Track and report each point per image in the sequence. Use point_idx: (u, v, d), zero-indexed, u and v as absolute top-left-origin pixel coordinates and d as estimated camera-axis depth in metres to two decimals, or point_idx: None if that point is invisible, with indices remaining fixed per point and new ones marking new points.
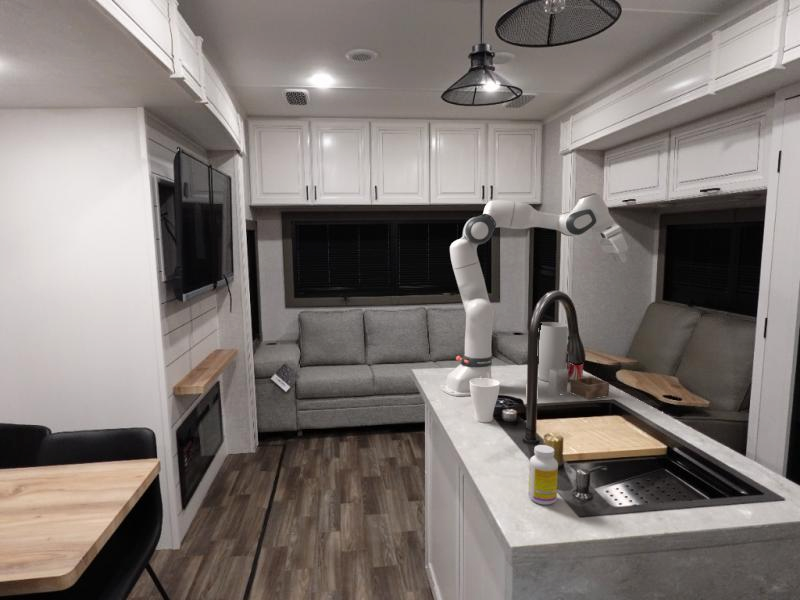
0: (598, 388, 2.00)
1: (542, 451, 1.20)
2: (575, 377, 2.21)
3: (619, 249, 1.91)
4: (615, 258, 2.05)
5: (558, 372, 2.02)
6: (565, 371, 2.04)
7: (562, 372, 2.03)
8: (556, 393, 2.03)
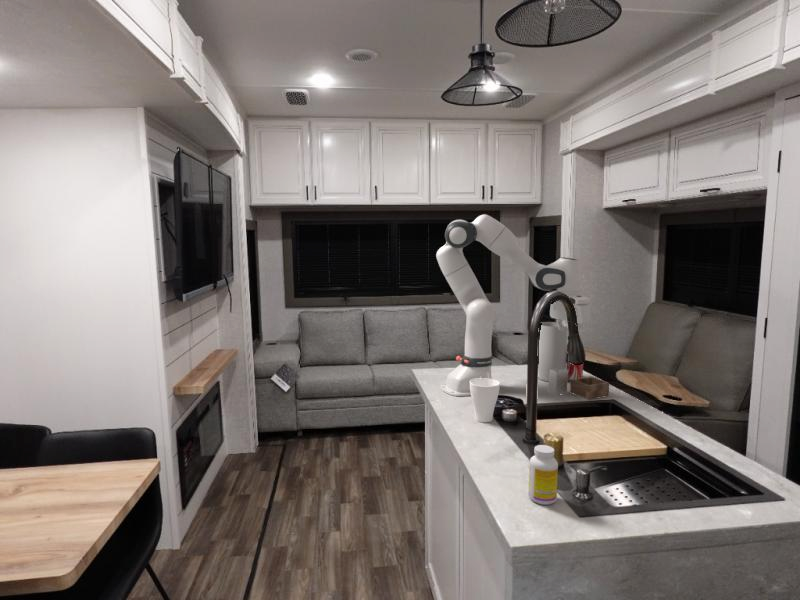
0: (598, 388, 2.00)
1: (542, 451, 1.20)
2: (575, 377, 2.21)
3: (583, 319, 1.92)
4: (562, 327, 2.06)
5: (558, 372, 2.02)
6: (565, 371, 2.04)
7: (562, 372, 2.03)
8: (556, 393, 2.03)
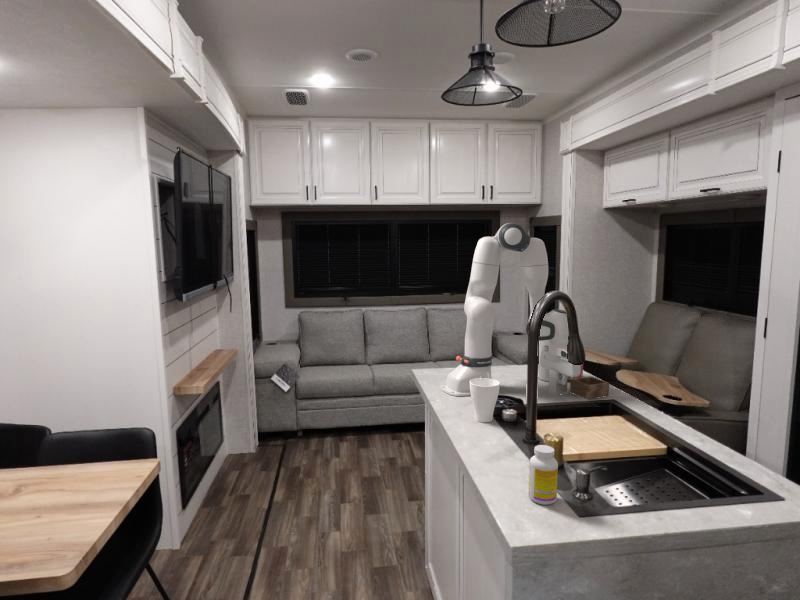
0: (598, 388, 2.00)
1: (542, 451, 1.20)
2: (575, 377, 2.21)
3: (574, 373, 1.95)
4: None
5: (558, 372, 2.02)
6: None
7: None
8: (556, 393, 2.03)
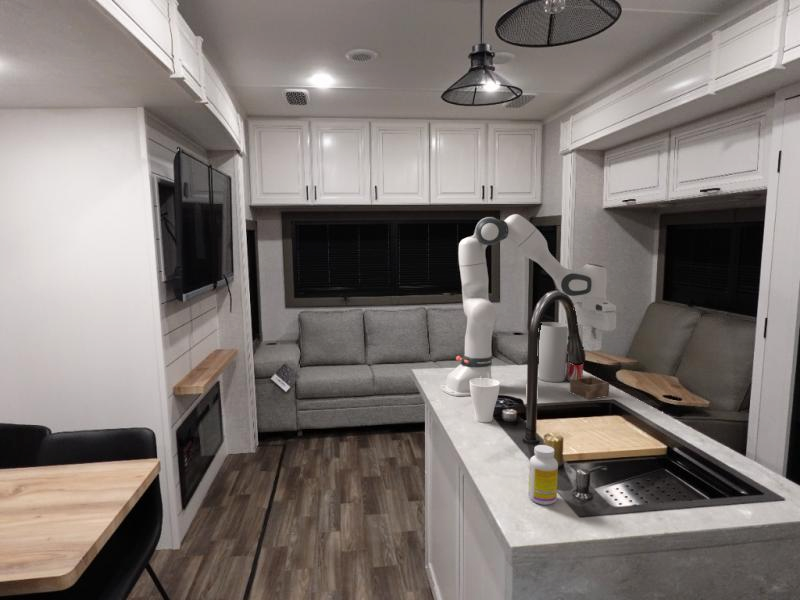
0: (598, 388, 2.00)
1: (542, 451, 1.20)
2: (575, 377, 2.21)
3: (610, 327, 1.92)
4: None
5: (592, 327, 1.99)
6: None
7: None
8: (590, 348, 2.00)
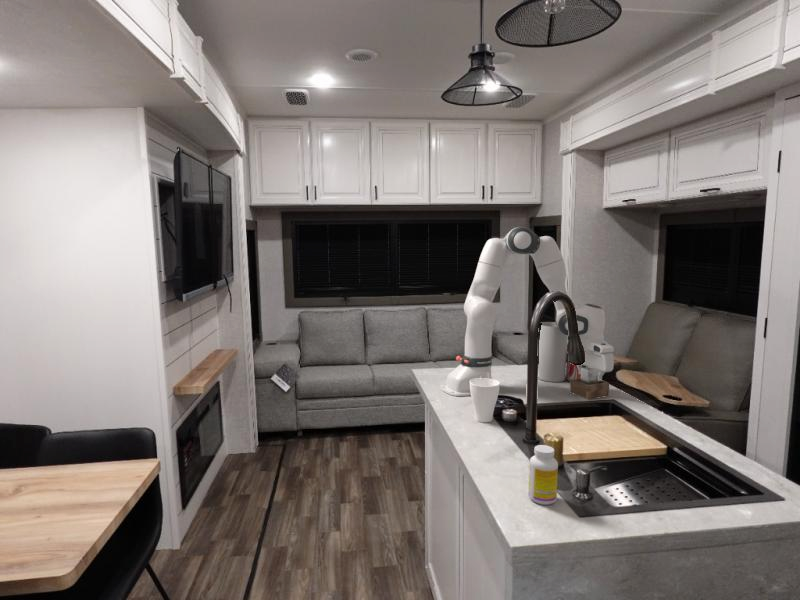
0: (598, 388, 2.00)
1: (542, 451, 1.20)
2: (575, 377, 2.21)
3: (607, 368, 1.94)
4: None
5: (590, 370, 2.01)
6: (596, 369, 2.03)
7: (594, 370, 2.02)
8: None
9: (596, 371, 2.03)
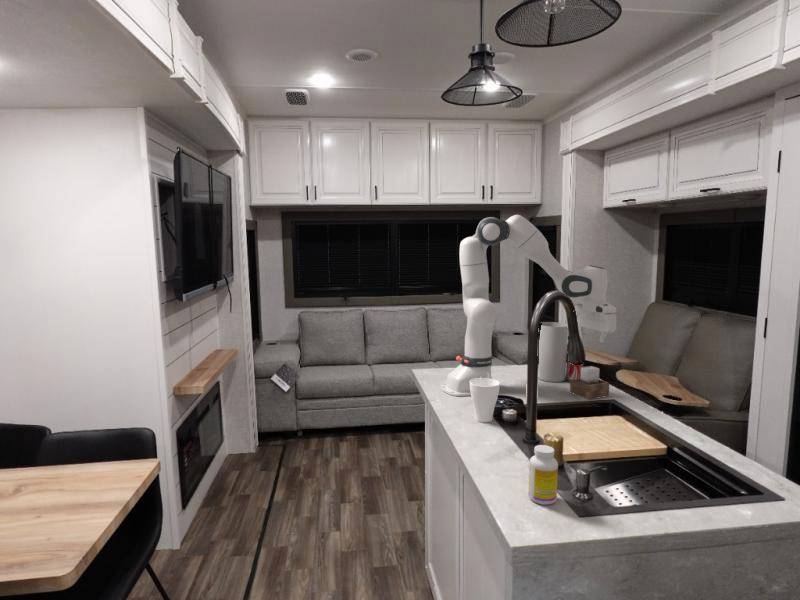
0: (598, 388, 2.00)
1: (542, 451, 1.20)
2: (575, 377, 2.21)
3: (610, 328, 1.92)
4: (584, 335, 2.06)
5: (590, 370, 2.01)
6: (596, 369, 2.03)
7: (594, 370, 2.02)
8: None
9: (596, 371, 2.03)
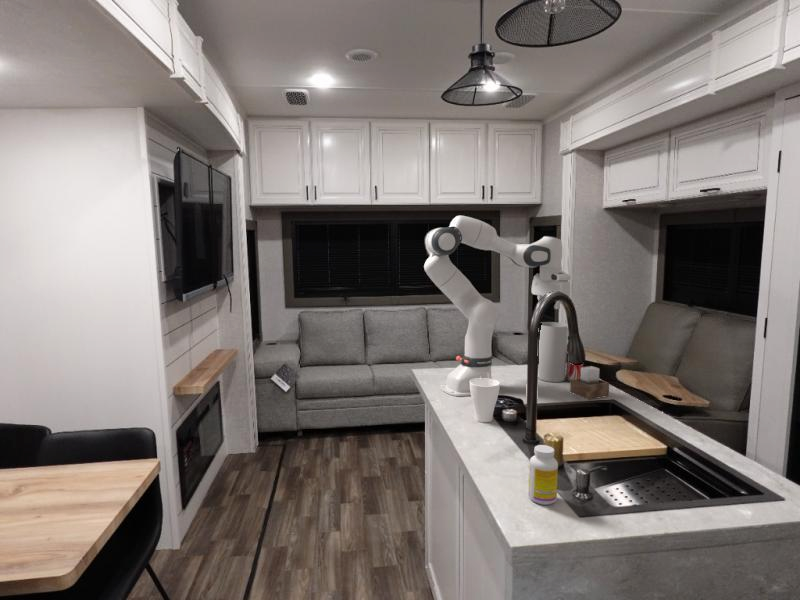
0: (598, 388, 2.00)
1: (542, 451, 1.20)
2: (575, 377, 2.21)
3: None
4: None
5: (590, 370, 2.01)
6: (596, 369, 2.03)
7: (594, 370, 2.02)
8: None
9: (596, 371, 2.03)
